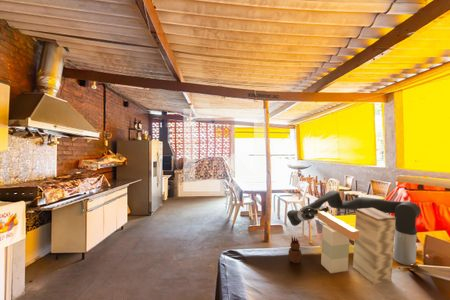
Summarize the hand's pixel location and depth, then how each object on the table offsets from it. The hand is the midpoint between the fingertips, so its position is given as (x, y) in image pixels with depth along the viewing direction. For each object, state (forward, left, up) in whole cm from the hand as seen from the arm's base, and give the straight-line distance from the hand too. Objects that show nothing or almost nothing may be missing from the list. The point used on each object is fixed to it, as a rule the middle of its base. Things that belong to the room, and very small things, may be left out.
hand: (320, 209), depth 128 cm
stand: (-16, +21, -27) cm, 38 cm away
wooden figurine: (+17, +3, -27) cm, 33 cm away
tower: (-1, +12, -27) cm, 30 cm away
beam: (-1, +12, -5) cm, 13 cm away
